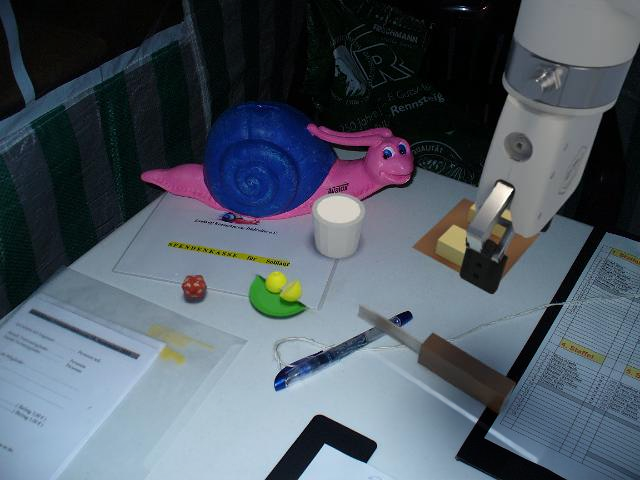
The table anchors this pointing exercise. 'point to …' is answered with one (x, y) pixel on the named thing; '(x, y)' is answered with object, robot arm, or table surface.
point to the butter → (452, 245)
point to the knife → (450, 363)
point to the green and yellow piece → (276, 295)
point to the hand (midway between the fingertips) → (505, 252)
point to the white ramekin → (337, 224)
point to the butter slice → (497, 229)
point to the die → (194, 286)
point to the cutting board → (460, 219)
